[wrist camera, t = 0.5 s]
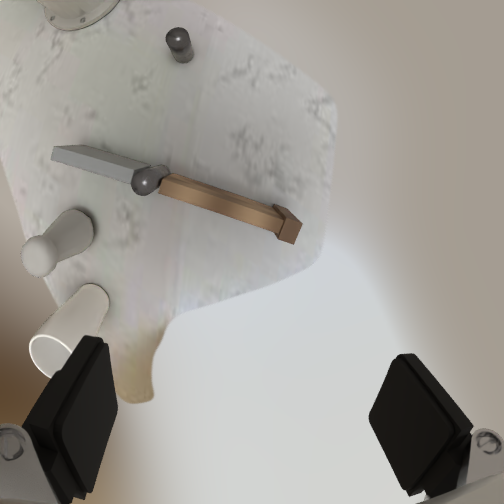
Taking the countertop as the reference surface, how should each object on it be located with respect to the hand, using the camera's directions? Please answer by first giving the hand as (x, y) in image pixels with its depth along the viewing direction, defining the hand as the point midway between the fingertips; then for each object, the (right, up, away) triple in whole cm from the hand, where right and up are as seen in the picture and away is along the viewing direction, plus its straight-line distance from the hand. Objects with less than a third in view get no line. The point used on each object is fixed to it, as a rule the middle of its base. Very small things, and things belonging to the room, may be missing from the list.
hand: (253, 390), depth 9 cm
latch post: (-8, +29, +23) cm, 38 cm away
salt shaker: (-23, +8, +29) cm, 38 cm away
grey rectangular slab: (-17, +16, +27) cm, 36 cm away
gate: (-3, +11, +29) cm, 31 cm away
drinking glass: (-23, -2, +33) cm, 40 cm away
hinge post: (-11, +14, +28) cm, 33 cm away
